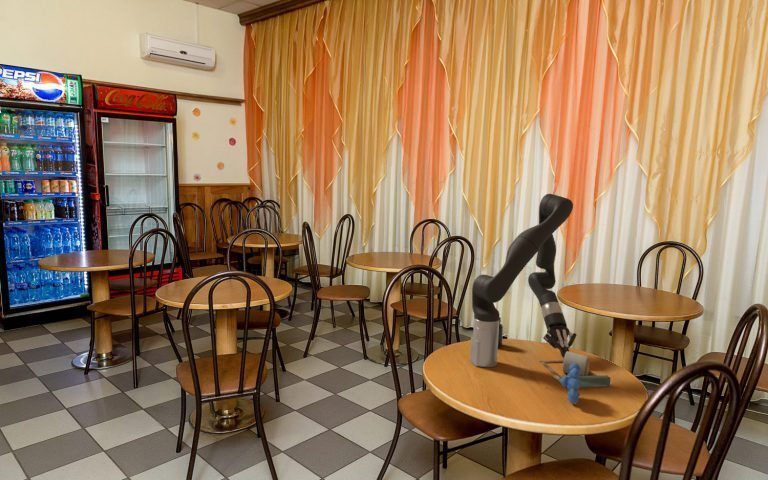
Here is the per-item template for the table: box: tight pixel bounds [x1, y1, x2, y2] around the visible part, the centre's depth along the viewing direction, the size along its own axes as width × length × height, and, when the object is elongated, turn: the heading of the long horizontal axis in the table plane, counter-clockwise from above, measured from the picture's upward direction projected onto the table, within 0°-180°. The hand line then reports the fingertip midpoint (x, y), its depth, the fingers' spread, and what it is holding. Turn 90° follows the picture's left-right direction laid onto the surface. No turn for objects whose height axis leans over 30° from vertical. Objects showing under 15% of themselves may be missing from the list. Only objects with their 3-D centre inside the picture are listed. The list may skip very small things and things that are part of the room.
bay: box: [539, 359, 613, 388], centre depth 175 cm, size 23×17×3 cm
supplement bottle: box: [498, 316, 504, 349], centre depth 203 cm, size 7×7×12 cm
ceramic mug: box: [562, 350, 591, 376], centre depth 176 cm, size 11×8×8 cm
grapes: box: [558, 362, 582, 405], centre depth 153 cm, size 12×7×12 cm, turn 160°
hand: (567, 358), depth 180 cm, fingers closed
